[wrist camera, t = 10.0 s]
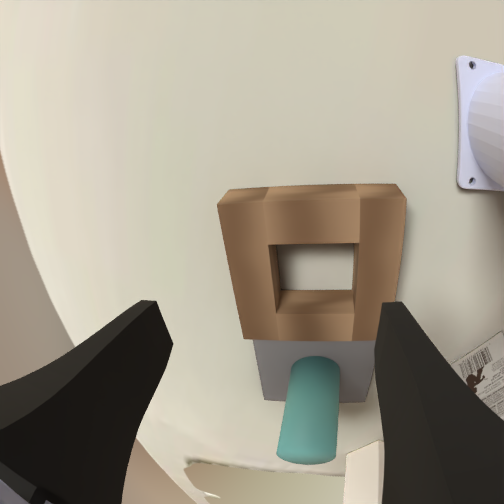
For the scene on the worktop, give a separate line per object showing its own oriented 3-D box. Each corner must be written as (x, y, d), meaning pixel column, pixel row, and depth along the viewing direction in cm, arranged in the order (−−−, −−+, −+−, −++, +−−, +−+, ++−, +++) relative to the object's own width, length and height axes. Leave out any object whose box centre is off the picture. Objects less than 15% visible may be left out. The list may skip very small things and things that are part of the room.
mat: (380, 325, 21) (381, 331, 21) (364, 397, 26) (364, 402, 26) (252, 325, 24) (251, 330, 23) (265, 395, 29) (264, 400, 28)
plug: (332, 351, 23) (326, 442, 16) (344, 380, 24) (341, 462, 18) (283, 361, 24) (266, 446, 18) (300, 387, 26) (288, 465, 19)
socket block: (395, 183, 16) (406, 198, 14) (382, 315, 21) (386, 339, 19) (228, 189, 18) (216, 204, 16) (250, 316, 23) (243, 339, 21)
